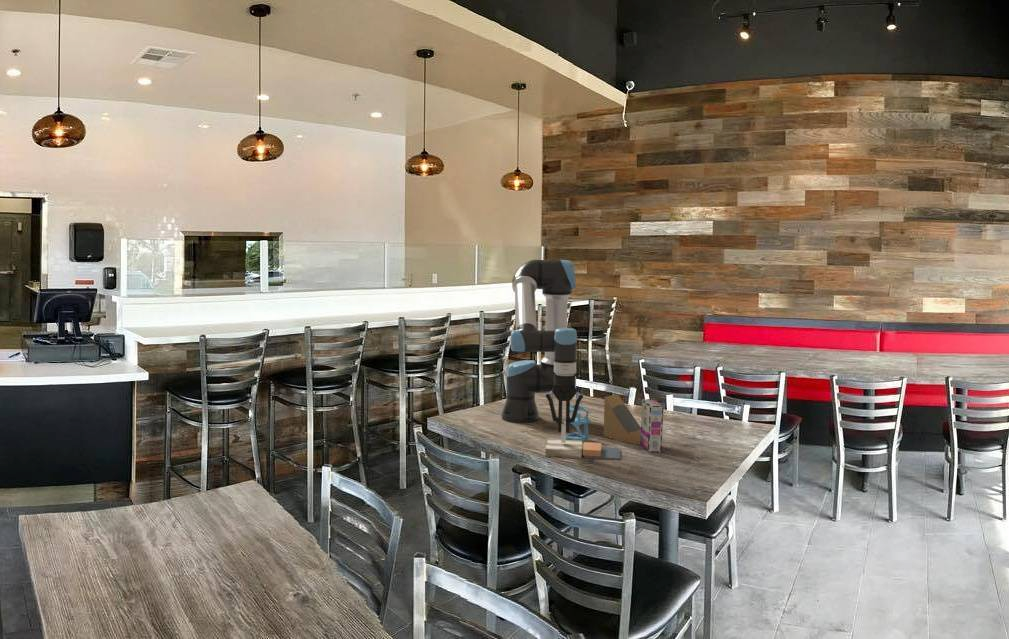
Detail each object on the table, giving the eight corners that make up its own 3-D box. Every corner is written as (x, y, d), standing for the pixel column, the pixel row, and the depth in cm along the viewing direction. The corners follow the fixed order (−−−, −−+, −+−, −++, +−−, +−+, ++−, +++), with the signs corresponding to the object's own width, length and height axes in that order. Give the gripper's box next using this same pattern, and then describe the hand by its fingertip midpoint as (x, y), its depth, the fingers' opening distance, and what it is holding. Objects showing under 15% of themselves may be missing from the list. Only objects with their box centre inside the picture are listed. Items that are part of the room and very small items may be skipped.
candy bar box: (662, 452, 237) (664, 406, 235) (648, 453, 237) (649, 406, 235) (653, 443, 248) (655, 398, 247) (639, 443, 248) (641, 398, 246)
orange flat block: (583, 447, 241) (583, 442, 240) (601, 448, 240) (601, 442, 239) (582, 455, 232) (582, 449, 231) (600, 456, 231) (600, 450, 231)
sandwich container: (637, 445, 246) (639, 404, 245) (602, 436, 257) (604, 396, 256) (651, 440, 252) (652, 400, 251) (616, 432, 263) (617, 393, 262)
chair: (580, 443, 248) (580, 410, 247) (561, 438, 254) (562, 406, 252) (592, 438, 254) (593, 406, 252) (574, 434, 259) (575, 403, 258)
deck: (547, 445, 244) (548, 438, 244) (582, 447, 242) (582, 440, 242) (545, 456, 232) (545, 448, 232) (581, 457, 231) (581, 450, 230)
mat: (585, 447, 242) (585, 446, 242) (619, 449, 241) (619, 447, 241) (584, 458, 231) (584, 456, 230) (620, 459, 229) (620, 458, 229)
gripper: (545, 375, 232) (543, 443, 234) (584, 376, 230) (582, 445, 233) (546, 371, 239) (545, 437, 242) (584, 372, 238) (582, 439, 240)
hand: (563, 441), depth 237 cm, fingers closed
